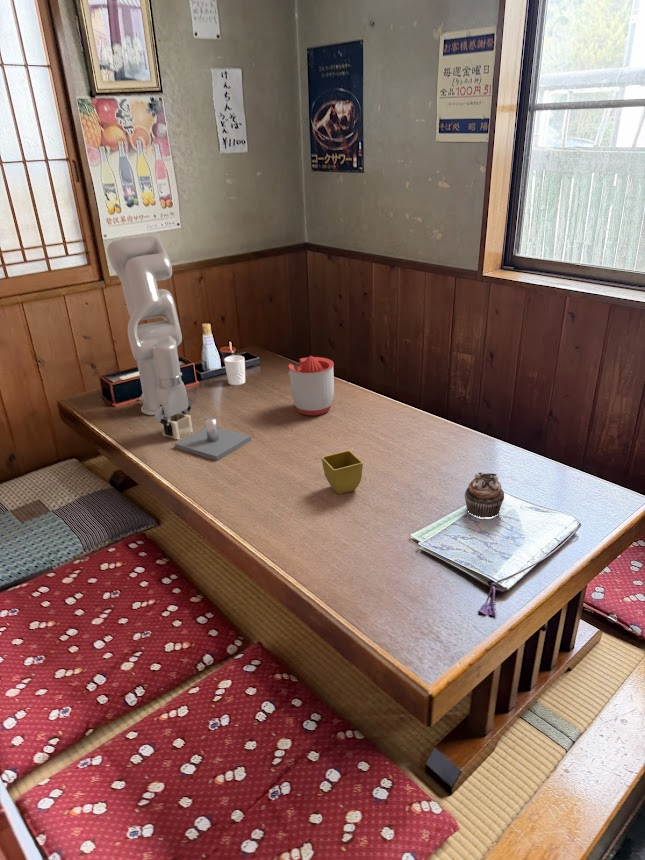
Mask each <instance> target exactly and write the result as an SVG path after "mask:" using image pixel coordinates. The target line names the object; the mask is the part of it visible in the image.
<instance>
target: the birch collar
mask: <svg viewBox="0 0 645 860" xmlns="http://www.w3.org/2000/svg"><path fill="white" fill-rule="evenodd" d="M166 421H167V417H166ZM170 425H171V426H172V432H173V436H169V435H166V434H165V432H164V426H163V424H161V423H160V426H161V431H162V432H161V433H162V436H163V437H166V436H167V437H166V438H169V437H170V439H173V438H174V439H173V440H176V439H177V440H176V441H179V440H181V439H183V438H185V437H187V436H188V435H190V434H192V433H194V429H193V422H192V416H191V415H190V414H189V415H187V414H183V413H181V412H180V413H178V414H176V415H174V416H172V417H171V420H170ZM191 432H192V433H191ZM189 433H190V434H189ZM187 434H188V435H187ZM184 436H185V437H184ZM182 437H183V438H182ZM180 438H181V439H180ZM178 439H179V440H178Z"/></svg>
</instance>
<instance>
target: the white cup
mask: <svg viewBox="0 0 645 860" xmlns="http://www.w3.org/2000/svg"><path fill="white" fill-rule="evenodd" d="M223 360H224V365H225V367H224V368H225V371H226V376H227V383H228V384H229V385H231V386H241V385H244V384H245V383H246V364H245V363H246V362H245V361H246V360H245V356H243V355H240V354H239V355H238V354H237V355H229V356H226V357H225V358H224V359H223Z"/></svg>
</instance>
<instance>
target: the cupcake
mask: <svg viewBox="0 0 645 860" xmlns="http://www.w3.org/2000/svg"><path fill="white" fill-rule="evenodd" d="M498 480H499V476H498V475H497V474H496V473H483V472H477V473H475V475H474V478H473V479H472V480H471V481H470V482H469V484H468V487H467V488H466V489H465V492H464V499H465V505H466V506H465V507H466V510H468V511H469V513H471V514H473V515H476V516H478V517H479V516H480V517H492V516H495V515H497V514H498V513H499V514H500V512H499V511H501V507H502V505H503V502H504V500H505V493H504V490H503V489H502V485H501V482H500V481H498ZM468 511H467V512H468ZM469 513H468V514H469ZM499 514H498V515H499Z"/></svg>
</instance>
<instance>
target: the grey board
mask: <svg viewBox="0 0 645 860" xmlns="http://www.w3.org/2000/svg"><path fill="white" fill-rule="evenodd" d="M217 431H218V438H219V440H218V441H216V442H208V441H207V435H206V428H205V427H203V428H201V429H200V430H197V431H196V432H193V433H191V434H189V435H187V436H185V437H183V438H181V439H180V440H178V441H177V442H175V443H174V447H175V449H178V450H181V451H184V452H186V453H187V452H188V453H190V452H191V453H190V454H194V455H197V456H201V457H204V458H207V459H209V460H213V461H215V462H218V461H220V460H221V459H223V458H224V457H226V456H228V455H229V454H231V453H232V451H233V452H235V451H236V450H237V448H238V449H240V448H241V447H242V445H243V446H244V445H246V444H248V443H249V442H251V441H252V437H251V435H249V434H244V433H241V432H236V431H235V430H234V431H233V430H230V429H227V428H222V427H218V426H217ZM248 441H249V442H248ZM245 443H246V444H245ZM240 446H241V447H240Z"/></svg>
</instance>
